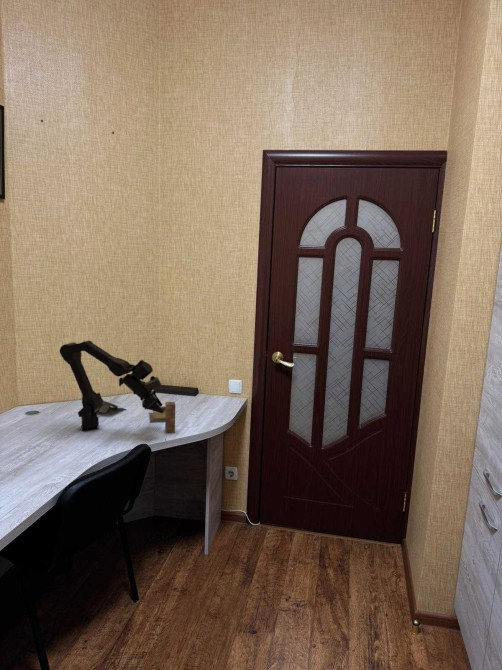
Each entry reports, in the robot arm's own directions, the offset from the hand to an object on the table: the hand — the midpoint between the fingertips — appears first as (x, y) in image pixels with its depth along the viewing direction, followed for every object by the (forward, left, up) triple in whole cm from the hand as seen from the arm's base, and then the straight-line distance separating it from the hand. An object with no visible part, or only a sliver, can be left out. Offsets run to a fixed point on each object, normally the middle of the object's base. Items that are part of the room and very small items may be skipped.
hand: (162, 409), depth 198 cm
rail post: (+3, -1, -10) cm, 11 cm away
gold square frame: (+4, +17, -10) cm, 21 cm away
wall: (-18, +37, -11) cm, 43 cm away
